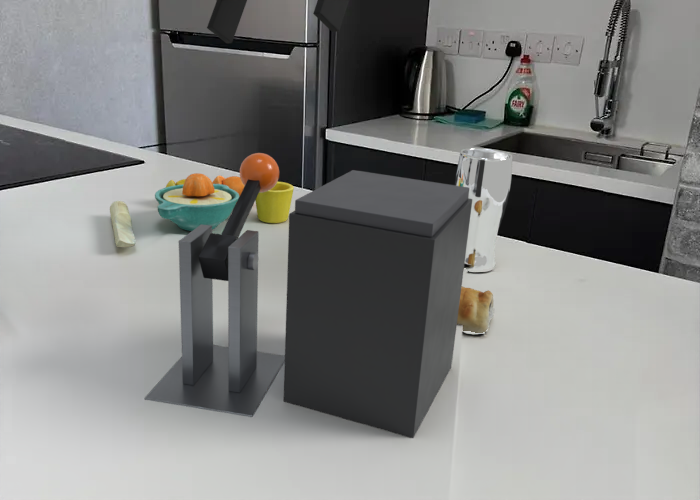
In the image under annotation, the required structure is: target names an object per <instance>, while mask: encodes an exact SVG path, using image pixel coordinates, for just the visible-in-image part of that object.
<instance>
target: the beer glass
mask: <svg viewBox="0 0 700 500" xmlns="http://www.w3.org/2000/svg"><path fill="white" fill-rule="evenodd" d="M458 157H459V158H458V162H457V167H456V172H455V179H454V185H455V186H462V187H468V188H469V196H468V198H469V199H472V207H471V215H470V223H469V231H468V239H467V247H466V255H465V263H464V268H466V269H473V270H483V269H489V268H492V267H494V266H495V267H496V241H497V236H498V234H499V231H500V227H501V224H502V221H503V218H504V215H505V212H506V208H507V206H508V202H509V197H510V192H511V185H512V175H513V159H514V156H513V154H511V153H509V152H507V151H503V150H499V149H491V148H482V147H469V148H463V149H461V150H460V152H459V156H458Z"/></svg>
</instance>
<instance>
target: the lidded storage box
mask: <svg viewBox="0 0 700 500" xmlns="http://www.w3.org/2000/svg"><path fill="white" fill-rule="evenodd" d="M468 196H469V188H468V187H462V186H455V184H448V183H443V182H442V183H441V182H436V181H435V182H434V181H428V180H421V179H414V178H409V177H401V176H395V175H389V174H381V173H377V172H369V171H363V170H355V169H352V170H350V171H349V172H346V173H344V174H343V175H341V176H339V177H337V178H334V179H333V180H331V181H329V182H327V183H325V184H323V185H322V186H319V187H318V188H315V189H313V190H312V191H310V192H308V193H306V194H304V195H302V196H300V197H299V198H297V199H295V200H294V201H295V203H294V210H293V211H291V212H289V216H288V243H287V270H286V271H287V275H286V276H287V277H286V304H285V305H286V306H285V307H286V308H285V309H286V312H285V341H284V355H285V362H284V371H283V372H284V374H283V403H285V404H287V403H288V404H290V405H293V406H298V407H301V408H305V409H308V410H312V411H315V412H318V413H322V414H326V415H329V416H334V417H336V418H340V419H343V420H347V421H350V422H354V423H356V424H357V423H358V424H361V425H364V426H368V427H372V428H374V429H379V430H382V431H386V432H390V433H393V434H396V435H400V436H403V437H407V438H410V439H414V438H415V436H416V434H417V433H418V431H419V429H420V427H421V425H422V424H423V422H424V419H425V417H426V416H427V415H428V412H429V410H430V408H431V406H432V404H433V403H434V400H435V399H436V397H437V395H438V393H439V391H440V390H441V387H442V386H443V384H444V382H445V380H446V378H447V376H448V375H449V373H450V371H451V369H452V365H453V359H454V357H453V356H454V350H455V340H456V334H457V333H456V332H457V327H458V326H457V325H458V324H457V318H458V310H459V302H460V294H461V287H462V285H463V278H464V271H465V270H464V263H465V255H466V247H467V239H468V231H469V223H470V215H471V207H472V199H469V198H468Z"/></svg>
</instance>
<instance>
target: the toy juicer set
mask: <svg viewBox="0 0 700 500" xmlns="http://www.w3.org/2000/svg"><path fill="white" fill-rule="evenodd" d="M243 188H244V184H243V183H242V181H241V178H240V176H237V175H236V176H235V175H234V176H233V175H232V176H228V177H224V176H222V175H219V174H218V175H217V176H216V177H215V178H214V179H213V181H212V180H211V178H210V177H208V176H207V175H206V174H204V173H200V172H195V173H191V174H189V175H187V177H186V178H183V179H180V180H177V181H174V180H173V179H170V180H169V181H168V182H167V184H166V185H165V187H163V188H160V189H159V190H157V191H156V192H155V193H154V198H155V199H154V200H156V201H157V203H158V205H157V213H158V214H159V216H160V217H161V218H162V219H165V220H169V221H170V222H172V223H174V224H175V225H177V227H178V228H180V229H181V230H184V231H189V232H191V231H193V230H194V229H196V228H197V227H198V226H200V225H210V226H212V230H214V229H216V228H217V227H218V225H220V224H222V223H224V222H225V221H226V220H228V219H229V217H230V215H231V213H232V211H233V209H234V207H235V205H236V203H237V201H238V199H239V197H240V195H241V193H242V191H243ZM294 190H295V187H294V186H293V184H290V183H288V182H283V181H277V183H276V185H275V186H274V187H273V188H272V189H270V190H269V191H266V192H262V193H258V195H257V198H256V200H255V208H256V214H257V218H258V220H259V221H261V222H263V223H267V224H268V223H269V224H280V223H284V222H286V221H287V220H289V214H290V211H291V205H292V200H293V194H294ZM109 214H110V219H111V224H112V230H113V236H114V242H115V246H116V247H117V248H130V247H134V246H135V245H136V243H137V240H136V238H135V233H134V230H133V224H132V218H131V214H130V211H129V207H128V205H127V203H125V202H124V201H122V200H115V201H112V203H110V207H109Z"/></svg>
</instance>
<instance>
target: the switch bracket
mask: <svg viewBox="0 0 700 500" xmlns="http://www.w3.org/2000/svg"><path fill="white" fill-rule="evenodd" d="M210 233H213V229H212V226H210V225H200V226H198V227H197V228H196V229H194V230H193V231H189V233H188V234H185V235H184V237H182V238H180V239H179V240H178V262H179V263H178V265H179V266H178V267H179V302H180V336H181V337H180V338H181V339H180V340H181V356H180V357H179V358H178V360H177V361H176V362H175V363H174V364H173V365H172V367H171V368H169V370H168V371H167V372H166V374H164V376H163V377H162V378H161V379H160V380H159V381H158V382H157V383H156V384H155V386H154V387H153V388H152V389H151V390H150V391H149V393H148V394H147V395H146V396H145V397H144V400H145V401H151V402H157V403H163V404H170V405H175V406H182V407H186V408H187V407H188V408H193V409H194V408H195V409H199V410H204V411H205V410H206V411H213V412H218V413H224V414H229V415H235V416H241V417H248V418H253V417H254V415H255V413H256V412H257V410H258V409H259V406H260V405H261V403H262V401H263V400H264V398H265V396H266V395H267V393H268V391H269V389H270V388H271V386H272V385H273V382H274V380H275V379H276V378H277V376H278V374H279V372H280V370H281V368H282V367H283V365H284V364H285V354H278V353H271V352H270V353H269V352H265V351H258V300H259V299H258V297H259V292H258V291H259V287H258V286H259V235H260V234H259V231H258V230H251V229H247V230H245V231H244V232H243V233H242V234H240V235H239V237H238V239H237V240H236V241H235V242H233V243H232V244H231V245H230V246H229V247H228V281H227V282H228V284H227V285H228V287H227V288H228V289H227V292H228V295H227V298H228V299H227V301H228V303H227V304H228V305H227V307H228V308H227V311H228V312H227V315H228V319H227V320H228V321H227V324H228V327H227V329H228V334H227V335H228V336H227V337H228V345H227V346H226V345H225V346H224V345H217V344H216V345H215V344H214V309H213V308H214V302H213V301H214V300H213V298H214V297H213V296H214V291H213V290H214V288H213V279H208V278H204V277H203V273H202V269H201V265H200V262H199V258H198V257H199V255H200V253H201V251H202V249H203V247H204V245H205V243H206V241H207V239H208V237H209V235H210Z"/></svg>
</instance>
